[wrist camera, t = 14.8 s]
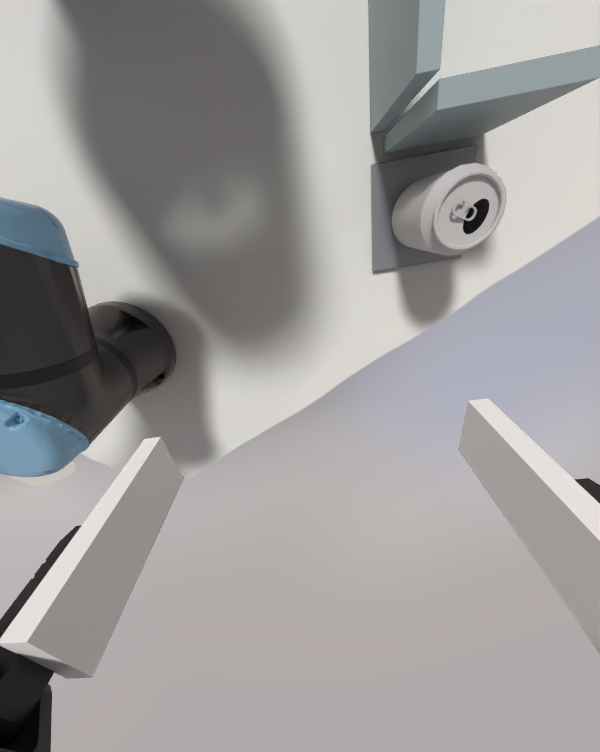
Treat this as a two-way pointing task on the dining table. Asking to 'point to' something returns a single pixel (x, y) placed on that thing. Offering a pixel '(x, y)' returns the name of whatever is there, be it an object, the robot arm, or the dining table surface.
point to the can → (450, 210)
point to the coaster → (385, 193)
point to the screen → (453, 79)
